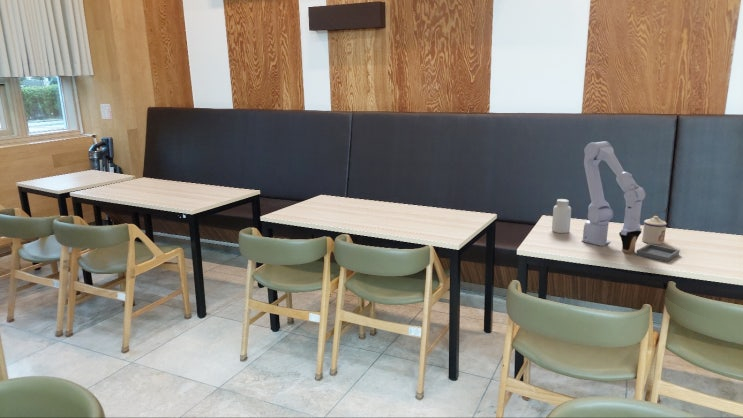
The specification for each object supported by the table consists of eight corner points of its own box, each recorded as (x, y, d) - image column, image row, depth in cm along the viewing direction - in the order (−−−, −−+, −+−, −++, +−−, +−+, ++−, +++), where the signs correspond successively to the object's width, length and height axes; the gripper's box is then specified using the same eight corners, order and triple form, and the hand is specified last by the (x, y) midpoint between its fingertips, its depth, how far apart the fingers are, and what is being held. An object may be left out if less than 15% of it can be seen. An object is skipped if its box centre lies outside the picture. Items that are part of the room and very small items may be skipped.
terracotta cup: (619, 251, 228) (621, 235, 227) (624, 249, 232) (626, 233, 230) (631, 254, 225) (633, 238, 223) (636, 251, 228) (638, 235, 227)
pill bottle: (550, 228, 262) (552, 198, 258) (567, 229, 261) (570, 198, 257) (553, 233, 254) (555, 201, 250) (571, 234, 253) (574, 202, 249)
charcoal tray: (635, 255, 224) (636, 250, 224) (648, 248, 233) (649, 243, 232) (667, 262, 216) (667, 257, 215) (678, 254, 224) (679, 250, 224)
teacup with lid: (662, 246, 235) (666, 220, 232) (639, 242, 240) (642, 217, 237) (666, 239, 245) (670, 214, 242) (644, 235, 250) (647, 211, 247)
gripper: (635, 221, 217) (631, 254, 220) (649, 215, 227) (645, 246, 230) (617, 218, 222) (613, 250, 225) (632, 212, 232) (628, 242, 235)
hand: (628, 248), depth 228 cm, fingers closed on terracotta cup, 5 cm apart
